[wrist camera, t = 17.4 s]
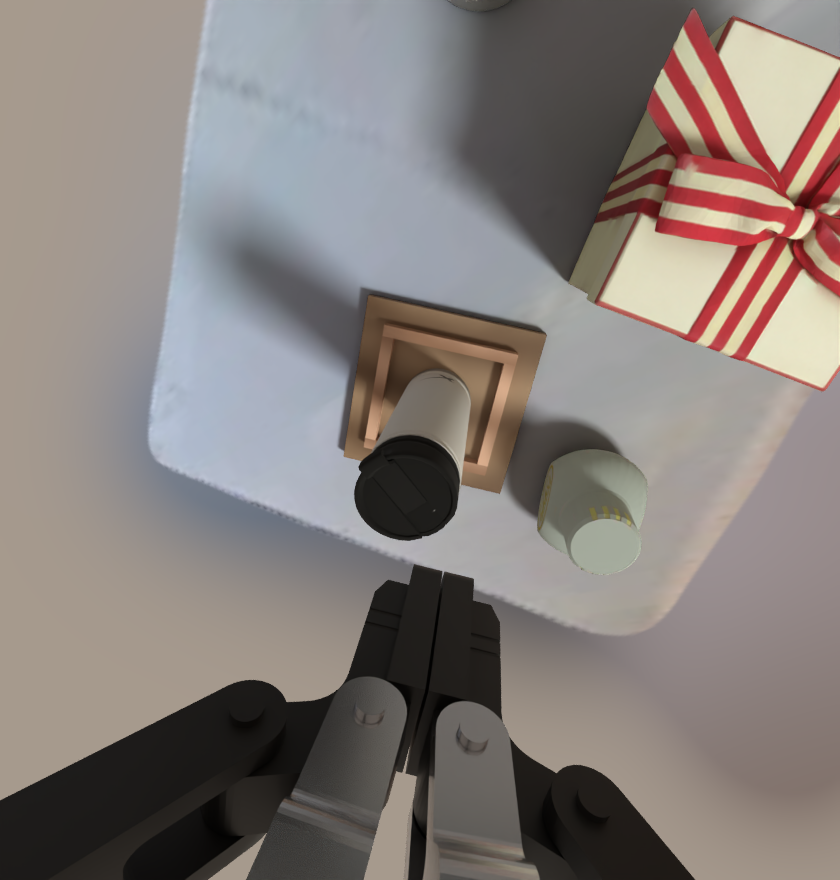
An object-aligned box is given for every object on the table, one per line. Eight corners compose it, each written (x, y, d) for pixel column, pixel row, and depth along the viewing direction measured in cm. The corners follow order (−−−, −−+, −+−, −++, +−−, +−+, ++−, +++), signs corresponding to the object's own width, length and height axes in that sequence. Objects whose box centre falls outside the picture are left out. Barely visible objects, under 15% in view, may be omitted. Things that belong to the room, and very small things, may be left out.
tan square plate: (370, 294, 47) (365, 296, 45) (545, 333, 46) (547, 337, 44) (346, 452, 53) (340, 460, 51) (499, 489, 52) (500, 498, 51)
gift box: (862, 101, 37) (1134, 8, 21) (737, 347, 45) (871, 413, 29) (632, 39, 38) (733, -98, 22) (545, 293, 45) (573, 328, 29)
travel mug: (443, 351, 47) (411, 430, 28) (484, 409, 48) (479, 519, 30) (389, 388, 49) (326, 485, 30) (429, 443, 50) (393, 566, 32)
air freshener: (554, 432, 49) (568, 479, 40) (642, 446, 49) (677, 496, 40) (531, 529, 54) (539, 592, 45) (612, 543, 53) (637, 609, 44)
